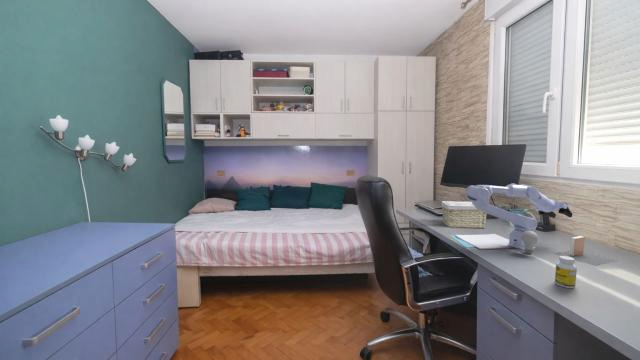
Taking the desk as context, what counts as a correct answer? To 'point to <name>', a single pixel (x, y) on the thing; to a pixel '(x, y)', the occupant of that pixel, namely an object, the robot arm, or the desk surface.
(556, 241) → the desk surface
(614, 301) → the desk surface
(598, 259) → the mat
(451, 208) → the storage basket
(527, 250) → the lightbulb
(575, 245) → the tile
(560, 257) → the supplement bottle
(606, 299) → the desk surface
